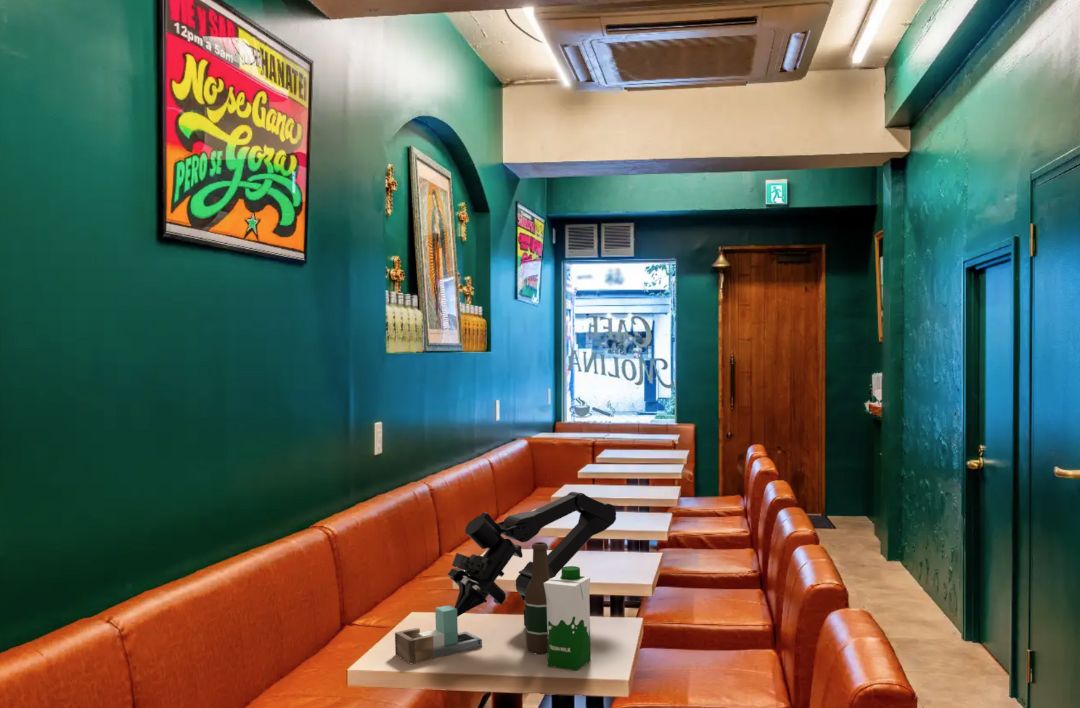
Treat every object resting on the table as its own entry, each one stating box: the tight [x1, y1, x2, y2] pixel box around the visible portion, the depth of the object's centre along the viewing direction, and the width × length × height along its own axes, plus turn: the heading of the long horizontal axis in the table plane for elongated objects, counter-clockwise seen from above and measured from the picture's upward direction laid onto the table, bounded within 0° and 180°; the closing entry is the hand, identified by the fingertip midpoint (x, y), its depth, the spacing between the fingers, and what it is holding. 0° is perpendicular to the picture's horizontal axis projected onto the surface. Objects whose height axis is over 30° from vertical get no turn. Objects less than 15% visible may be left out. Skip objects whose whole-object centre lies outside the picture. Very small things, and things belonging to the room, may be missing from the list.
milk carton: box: [544, 565, 592, 671], centre depth 189 cm, size 9×9×20 cm
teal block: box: [418, 604, 459, 648], centre depth 199 cm, size 8×4×9 cm, turn 124°
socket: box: [394, 627, 435, 664], centre depth 196 cm, size 6×8×5 cm
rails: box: [433, 631, 483, 659], centre depth 201 cm, size 12×7×2 cm, turn 124°
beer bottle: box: [524, 541, 550, 655], centre depth 199 cm, size 8×8×24 cm
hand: (454, 615), depth 202 cm, fingers closed, pressing on teal block
